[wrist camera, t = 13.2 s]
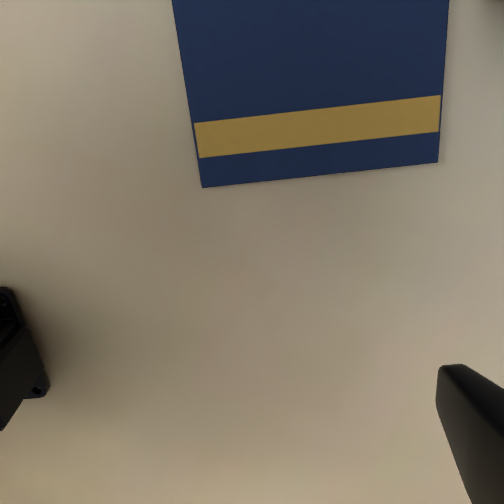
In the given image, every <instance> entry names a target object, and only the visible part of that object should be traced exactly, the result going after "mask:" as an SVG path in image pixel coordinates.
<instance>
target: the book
mask: <svg viewBox="0 0 504 504" xmlns="http://www.w3.org/2000/svg"><path fill="white" fill-rule="evenodd" d="M172 5H173V12H174V18H175V24H176V30H177V36H178V43H179V49H180V55H181V61H182V67H183V73H184V80H185V86H186V92H187V98H188V104H189V111H190V117H191V123H192V129H193V135H194V141H195V148H196V154H197V160H198V166H199V172H200V179H201V185H202V188H207V187H216V186H225V185H234V184H243V183H253V182H262V181H271V180H280V179H290V178H299V177H308V176H317V175H327V174H336V173H345V172H354V171H364V170H373V169H382V168H391V167H401V166H410V165H419V164H428V163H437V162H438V154H439V140H440V125H441V111H442V97H443V82H444V68H445V53H446V39H447V24H448V10H449V0H172Z"/></svg>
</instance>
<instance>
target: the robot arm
mask: <svg viewBox="0 0 504 504" xmlns="http://www.w3.org/2000/svg"><path fill="white" fill-rule="evenodd" d="M0 296H2V297H4V298H5V300H6V301H5V300H2V299H1V298H0V431H2V430H3V429H4V428H5V427H6V425H7V424H8V422H9V421H10V419H11V418H12V416H13V415H14V413H15V412H16V410H17V409H18V407H19V406H20V404H21V402H22V401H23V399H32V398H41V397H44V396H45V395H46V393H47V392H48V390H49V388H50V386H49V382H48V380H47V377H46V375H45V372H44V366H43V364H42V361H41V358H40V356H39V353H38V351H37V348H36V345H35V343H34V340H33V338H32V335H31V332H30V330H29V329H28V327H27V326H26V323H25V320H24V318H23V315H22V313H21V310H20V308H19V305H18V302H17V300H16V297H15V295H14V293H13V292H12V291H11V290H10V289H8V288H6V287H0ZM37 387H39V388H40V389H39V388H37ZM436 407H437V411H438V415H439V417H440V420H441V423H442V426H443V428H444V431H445V434H446V437H447V439H448V442H449V445H450V448H451V450H452V453H453V456H454V459H455V461H456V464H457V467H458V470H459V472H460V475H461V478H462V481H463V483H464V486H465V488H466V491H467V494H468V496H469V498H470V500H471V502H472V504H504V389H503V388H501V387H500V386H498V385H496V384H495V383H493V382H492V381H490V380H488V379H487V378H485V377H484V376H482V375H480V374H479V373H477V372H476V371H474V370H472V369H471V368H469V367H468V366H466V365H463V364H452V365H443V366H441V367H440V368H439V371H438V378H437V390H436Z"/></svg>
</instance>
